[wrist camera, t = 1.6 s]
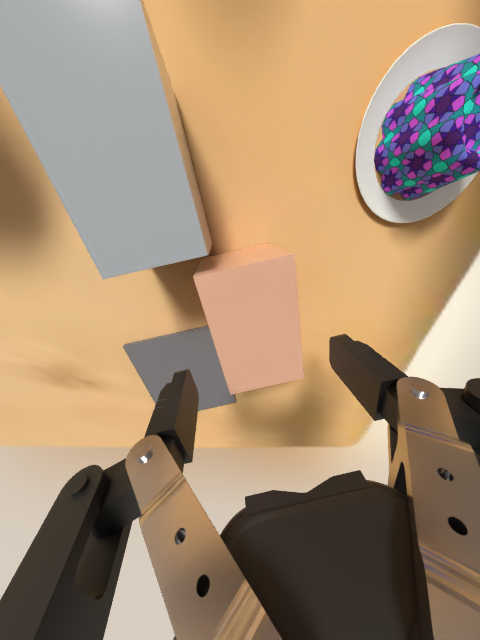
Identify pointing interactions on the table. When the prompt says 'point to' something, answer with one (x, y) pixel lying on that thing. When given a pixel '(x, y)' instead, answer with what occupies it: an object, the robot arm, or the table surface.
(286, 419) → the table surface
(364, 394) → the robot arm
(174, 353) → the mat
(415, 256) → the table surface
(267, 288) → the cover terracotta
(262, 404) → the table surface
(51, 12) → the plate
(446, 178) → the pudding
